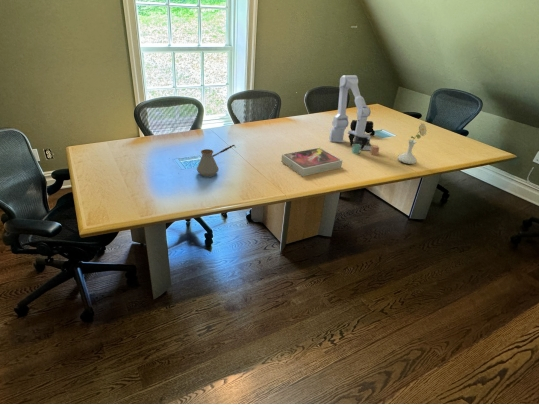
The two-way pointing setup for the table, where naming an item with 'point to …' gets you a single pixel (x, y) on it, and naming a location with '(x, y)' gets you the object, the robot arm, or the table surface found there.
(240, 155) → the table surface
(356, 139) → the block
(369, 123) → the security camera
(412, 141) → the flower in vase
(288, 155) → the product packaging
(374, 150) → the salmon pink block
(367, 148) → the pad
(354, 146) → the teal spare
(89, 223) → the table surface
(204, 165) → the coffee pot
